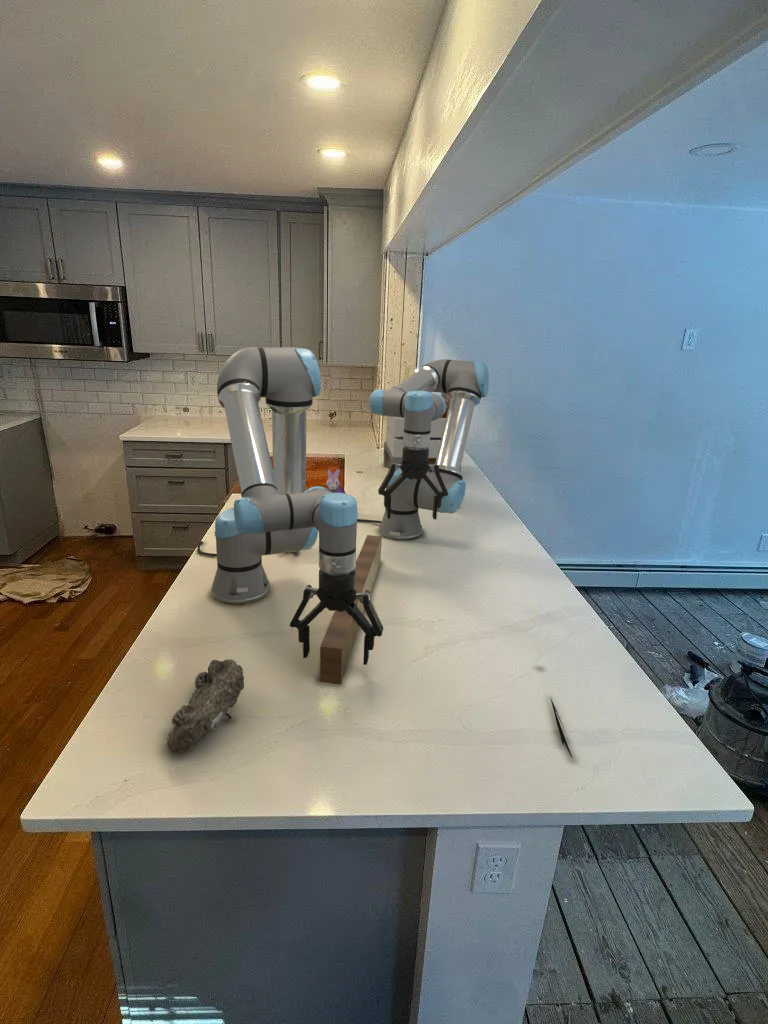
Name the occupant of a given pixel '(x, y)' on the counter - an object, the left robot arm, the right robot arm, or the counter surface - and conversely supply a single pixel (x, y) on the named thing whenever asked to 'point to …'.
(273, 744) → the counter surface
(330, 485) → the figurine
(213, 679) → the fossil
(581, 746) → the counter surface
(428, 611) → the counter surface
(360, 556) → the post
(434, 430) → the transformer
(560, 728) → the feather
